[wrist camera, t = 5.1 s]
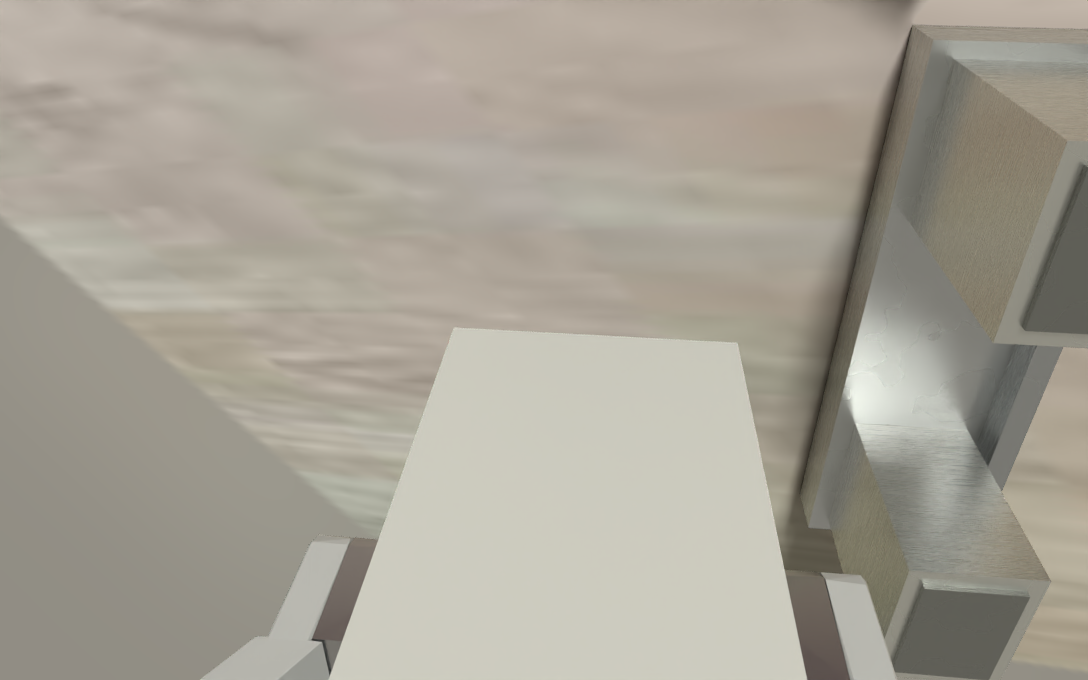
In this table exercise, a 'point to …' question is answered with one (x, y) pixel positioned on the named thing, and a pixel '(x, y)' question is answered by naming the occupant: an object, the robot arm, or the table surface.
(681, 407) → the block
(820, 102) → the table surface
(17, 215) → the table surface
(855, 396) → the rail
